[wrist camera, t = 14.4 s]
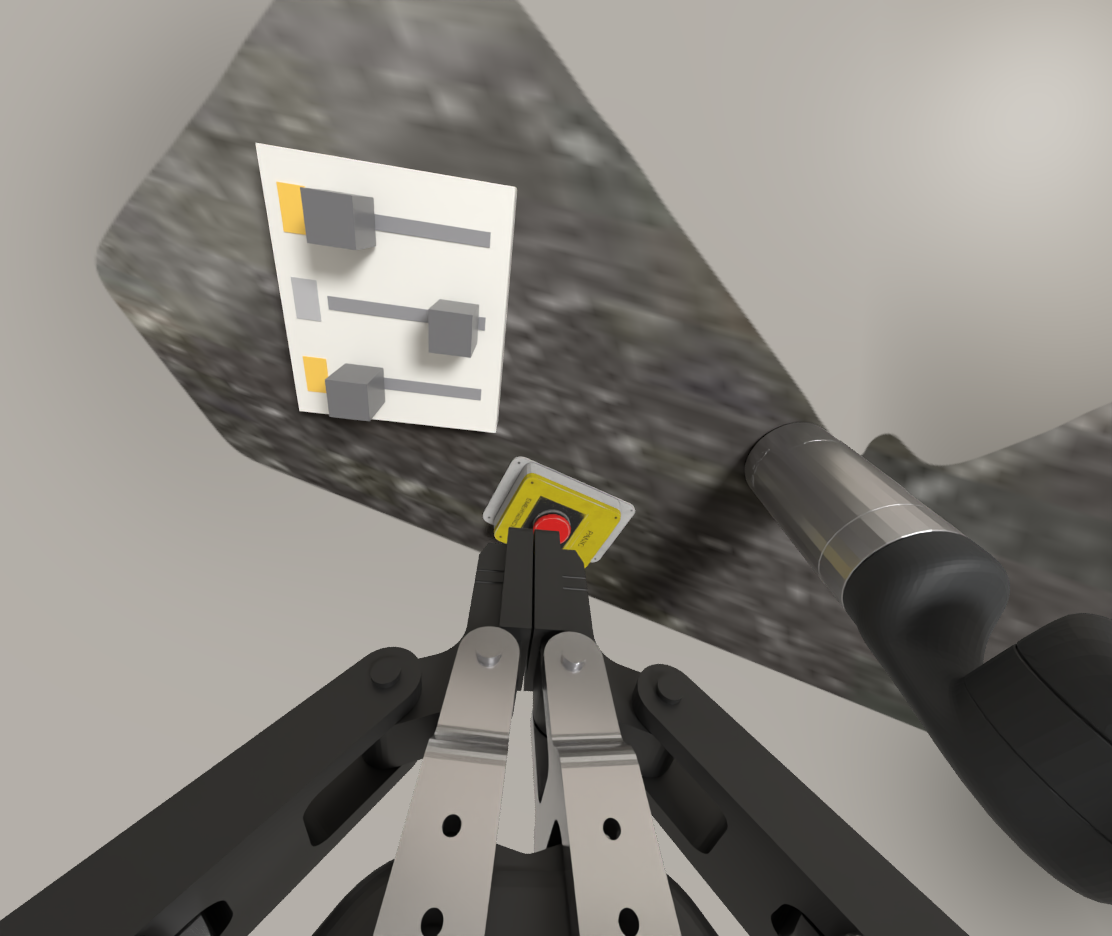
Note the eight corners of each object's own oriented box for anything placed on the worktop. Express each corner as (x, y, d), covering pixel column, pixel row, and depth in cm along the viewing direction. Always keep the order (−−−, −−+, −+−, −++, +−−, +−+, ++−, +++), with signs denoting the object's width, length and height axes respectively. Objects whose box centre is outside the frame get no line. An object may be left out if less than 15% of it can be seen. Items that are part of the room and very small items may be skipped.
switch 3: (479, 304, 33) (472, 315, 30) (477, 343, 35) (470, 357, 32) (439, 299, 33) (428, 309, 30) (439, 338, 35) (428, 352, 31)
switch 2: (383, 367, 36) (366, 384, 32) (385, 401, 37) (369, 421, 34) (345, 363, 35) (324, 379, 32) (348, 397, 37) (329, 416, 33)
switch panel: (517, 189, 33) (515, 187, 30) (498, 419, 42) (495, 433, 39) (278, 148, 31) (254, 142, 28) (314, 398, 40) (298, 411, 38)
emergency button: (514, 473, 41) (646, 529, 45) (516, 450, 45) (637, 504, 49) (475, 541, 45) (599, 587, 49) (480, 516, 49) (595, 560, 53)
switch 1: (373, 197, 30) (352, 195, 26) (376, 246, 31) (356, 250, 28) (327, 190, 29) (299, 187, 26) (332, 239, 31) (307, 242, 27)
